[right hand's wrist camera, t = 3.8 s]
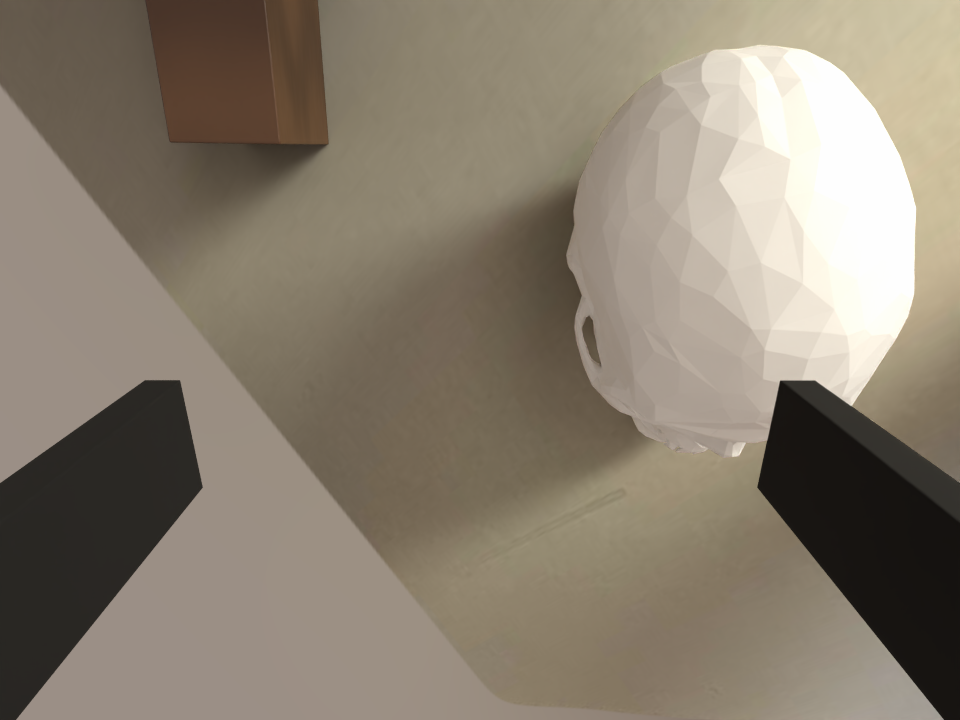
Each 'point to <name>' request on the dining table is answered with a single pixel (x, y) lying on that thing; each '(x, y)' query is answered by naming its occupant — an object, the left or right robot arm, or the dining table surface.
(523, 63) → the dining table surface
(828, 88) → the skull
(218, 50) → the walnut plank
